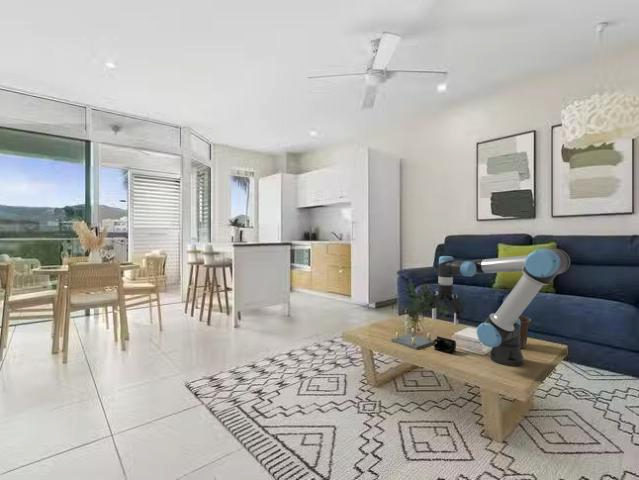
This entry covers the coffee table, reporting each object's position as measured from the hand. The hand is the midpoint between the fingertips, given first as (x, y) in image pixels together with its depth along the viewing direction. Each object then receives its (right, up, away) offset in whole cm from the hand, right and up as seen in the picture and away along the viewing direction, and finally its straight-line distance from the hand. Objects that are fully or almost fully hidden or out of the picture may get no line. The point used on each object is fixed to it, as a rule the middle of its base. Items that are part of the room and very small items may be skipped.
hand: (444, 322), depth 184 cm
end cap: (0, -16, 0) cm, 16 cm away
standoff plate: (-14, -15, +14) cm, 25 cm away
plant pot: (+44, -16, +9) cm, 47 cm away
